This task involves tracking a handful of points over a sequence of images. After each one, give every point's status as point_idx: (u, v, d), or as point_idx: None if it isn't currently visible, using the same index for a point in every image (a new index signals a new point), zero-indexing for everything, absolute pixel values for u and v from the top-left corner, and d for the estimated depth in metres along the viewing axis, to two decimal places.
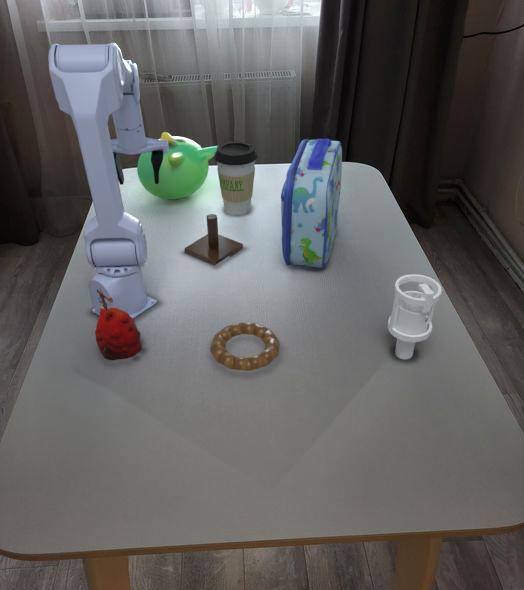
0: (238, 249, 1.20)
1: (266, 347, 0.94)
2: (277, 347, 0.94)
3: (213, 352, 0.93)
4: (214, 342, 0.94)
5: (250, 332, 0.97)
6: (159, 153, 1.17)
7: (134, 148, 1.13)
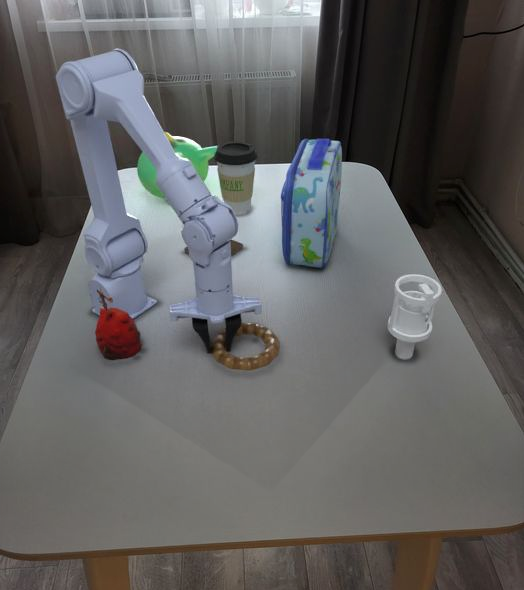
0: (238, 249, 1.20)
1: (266, 347, 0.94)
2: (277, 347, 0.94)
3: (213, 352, 0.93)
4: (214, 342, 0.94)
5: (250, 332, 0.97)
6: None
7: None
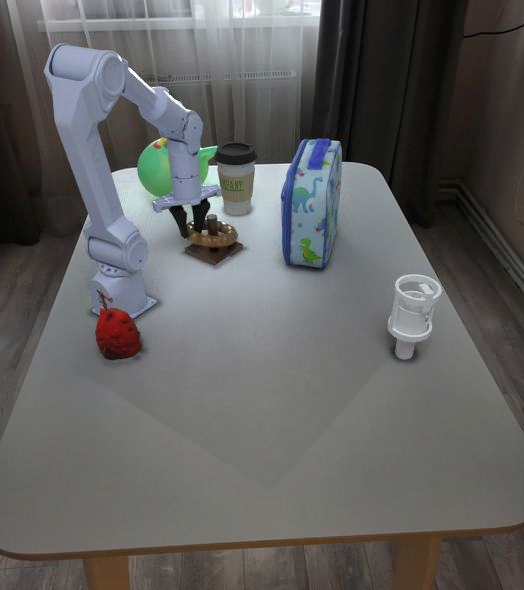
0: (238, 249, 1.20)
1: (228, 231, 1.20)
2: (236, 231, 1.21)
3: (190, 235, 1.16)
4: (188, 229, 1.17)
5: None
6: None
7: None
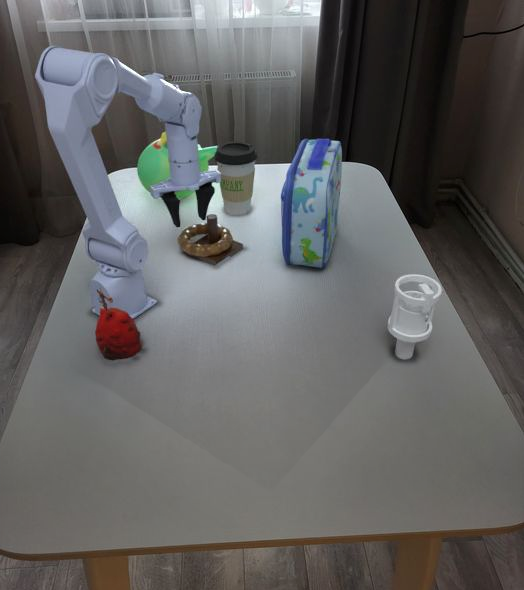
0: (238, 249, 1.20)
1: (222, 235, 1.19)
2: (230, 234, 1.20)
3: (184, 246, 1.16)
4: (181, 239, 1.18)
5: (204, 229, 1.22)
6: None
7: None
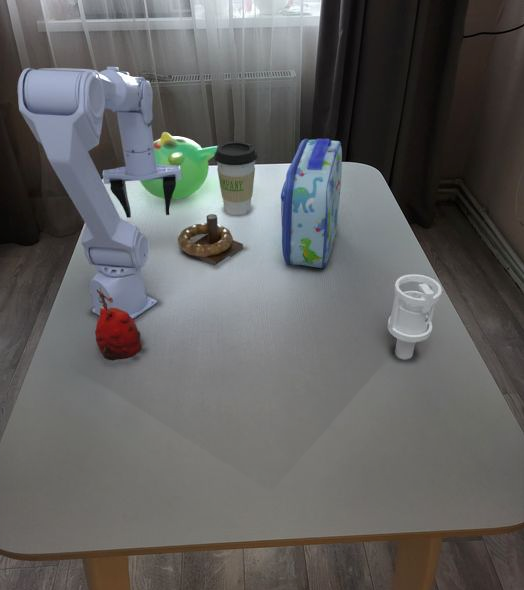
0: (238, 249, 1.20)
1: (222, 235, 1.19)
2: (230, 234, 1.20)
3: (184, 246, 1.16)
4: (181, 239, 1.18)
5: (204, 229, 1.22)
6: (171, 179, 1.07)
7: (145, 173, 1.03)
